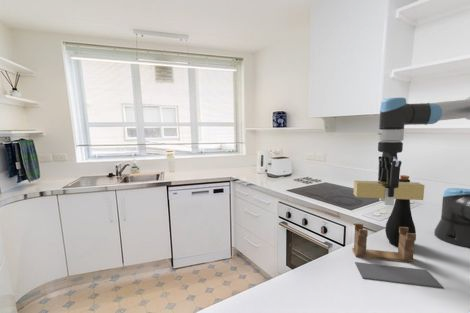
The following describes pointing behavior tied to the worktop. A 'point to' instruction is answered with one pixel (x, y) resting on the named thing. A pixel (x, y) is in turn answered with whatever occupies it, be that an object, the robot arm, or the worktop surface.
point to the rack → (402, 255)
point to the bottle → (399, 218)
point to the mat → (397, 274)
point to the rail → (378, 188)
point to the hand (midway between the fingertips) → (386, 202)
